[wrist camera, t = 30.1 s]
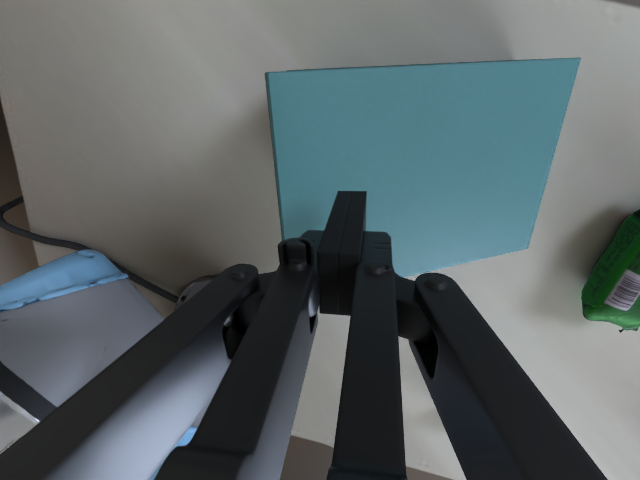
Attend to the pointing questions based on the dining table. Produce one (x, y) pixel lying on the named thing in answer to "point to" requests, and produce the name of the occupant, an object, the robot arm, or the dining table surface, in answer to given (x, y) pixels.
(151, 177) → the dining table surface
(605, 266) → the snack package
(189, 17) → the dining table surface
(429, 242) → the lunchbox lid
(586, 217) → the dining table surface
